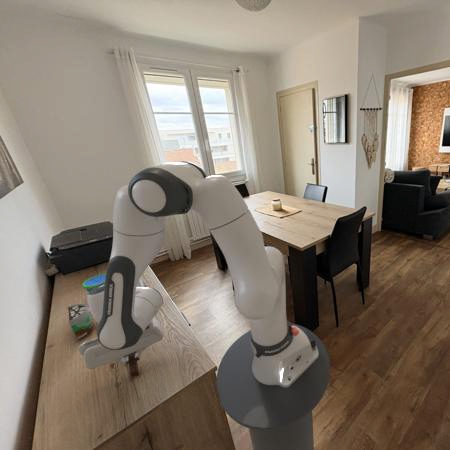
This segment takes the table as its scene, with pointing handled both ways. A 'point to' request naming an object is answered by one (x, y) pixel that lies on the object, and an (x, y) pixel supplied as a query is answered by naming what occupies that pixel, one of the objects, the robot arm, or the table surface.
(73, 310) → the food container
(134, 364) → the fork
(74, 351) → the table surface
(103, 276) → the snack cup
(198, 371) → the table surface
